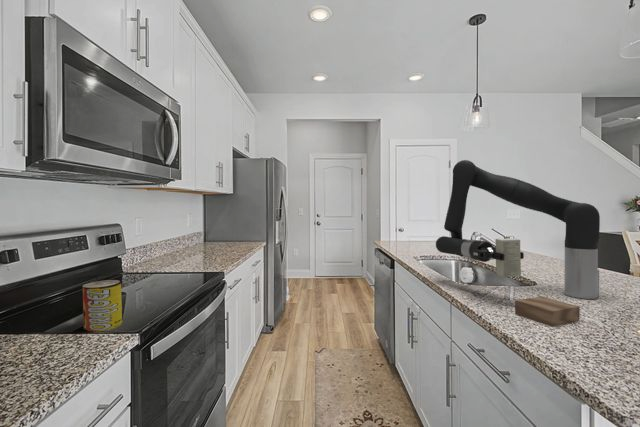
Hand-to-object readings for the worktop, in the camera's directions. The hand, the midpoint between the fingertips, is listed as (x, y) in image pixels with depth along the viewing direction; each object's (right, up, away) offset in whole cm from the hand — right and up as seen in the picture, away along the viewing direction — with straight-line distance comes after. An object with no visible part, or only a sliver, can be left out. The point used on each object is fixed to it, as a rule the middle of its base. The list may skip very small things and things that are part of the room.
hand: (513, 256), depth 105 cm
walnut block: (+3, -17, -11) cm, 20 cm away
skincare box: (0, -7, +2) cm, 7 cm away
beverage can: (-124, -18, -14) cm, 126 cm away
